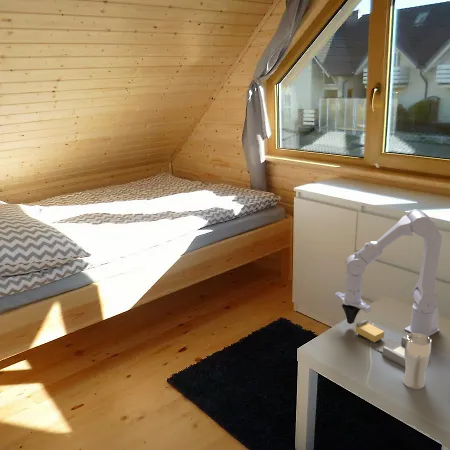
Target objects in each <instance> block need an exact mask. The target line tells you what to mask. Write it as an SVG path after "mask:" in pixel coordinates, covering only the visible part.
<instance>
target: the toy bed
mask: <svg viewBox="0 0 450 450" xmlns="http://www.w3.org/2000/svg"><path fill="white" fill-rule="evenodd" d="M368 322H369V321H368V319H364V320H361V321H359V322H357V323H356V325H355V333H356V334H357V336H358V337H360V336H362V337H364V338H366V339H368V340H369V341H370V343H371V344H374V343H376V342H378V341H380V340H381V339H384V337H385V330H382V329H381V328H378V327H376V326H375V325H372V324H370V323H368Z"/></svg>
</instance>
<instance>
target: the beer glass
mask: <svg viewBox="0 0 450 450" xmlns="http://www.w3.org/2000/svg"><path fill="white" fill-rule="evenodd" d="M406 338H407V340H406V344H405V352H404V355H405V368H404V370H405V371H404V375H403V378H402V383H403V384H404V385H405V386H406V387H407V388H409V389H412V390H422V389H424V387H425V385H426V382H425V381H426V380H425V374H426V371H427V368H428V366H429V363H430V360H431V359H430V358H431V352H432V339H431V338H430V336H429V337H428V336H426V335H424V334H420V333H411V332H410V333H409V334H407V336H406Z"/></svg>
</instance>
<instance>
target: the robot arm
mask: <svg viewBox="0 0 450 450" xmlns="http://www.w3.org/2000/svg"><path fill="white" fill-rule="evenodd" d="M413 233H414V234H416V235H417V236H419V237H421V238H423V240H424V241H423V242H424V243H423V248H422V256H421V264H420V271H419V277H418V278H419V279H418V281H417V282H416V284H415V287H414V289H413V290H412V292H411V295H412V296H411V297H412V299H413V300H414V302H413V304H412V308H411V318H410V322H409V323H410V325H408V326H406V327H405V328H404V330H405V331H407V332H409V333H410V334H411V333H420V334H424V335H426V336H428V337H429V338H430V336H432V335H434V334H436V333H437V332H440V328H438V325H439V318H440V317H439V316H440V312H439V309H438V306H439V303H438V301H437V290H436V279H437V273H438V267H439V266H438V265H439V259H440V252H441V246H442V238H443V236H442V234H441V232H440V230H439V229H438V227H437V225H436V223H435V222H434V221H433V220H432V219H431V218H430V216H428V215H427V214H426V213H425V212H423V211H422V210H421V209H412V210H409V212H408V213H407V214H404V215H403V216H401V218H400V219H399V220H398V222H397V223H395V224H394V225H393V226H392V227H391V228H390V229H389V230H387V231H386V232H385V233H384V234H383V235H382V236H380V237H379V238H378V239H377V240H376V241H373V240H371V241H369V242H365V243H364V244H363V245H364V246H363V247H362V248H361V249H359V250H358V251H357V252H356V251H355V252H354V253H353V254H350V255H349V256H348V257H347V258H346V260H345V266H346V272H345V281H344V282H345V284H344V292H343V293H342V292H340V291H337V292H335V293H334V298H335V300H336V299H337V300H338V299H339V300H341V301H342V304H341V308H342V309H343V311H344V314H345V317H346V322H347V324H349V325H351V324H354V323H355V320H356V318H357V315H358V314H359V312H360V311H363V312H364V313H365V314H368V313H370V312H371V310H372V309H371V306H370V305H368V304H367V303H366V302H365V301H364V300H362V291H363V290H362V288H363V274H364V273H365V270H366V268H367V267H368V266H369V265H370V264H371V263H373V262H374V261H376V260H377V259H378V258H379V257H381V256H382V255H383V251H384V249H385V248H387V247H388V246H389V245H391V244H392V243H394V242H395V241H396V240H397V241H398V239H400V238H401V237H402V236H410V237H412V236H414V234H413Z"/></svg>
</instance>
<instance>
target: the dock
mask: <svg viewBox="0 0 450 450" xmlns="http://www.w3.org/2000/svg"><path fill="white" fill-rule="evenodd" d="M406 340H407V336H405V335H403V336H402V337H401V342H398V341H395V340H393V339H390V338H387V339H386V340H383V341H381V342H379V343H378V344H376V345H373V346H372V347H371V349H374V350H375V351H377V352H378V353H381V354H382V356H383V357H384V358H386V359H388V360H389V361H392V362H394V363H395V364H398V365H399V366H401V367H402V368H404V369H405V355H404V352H405V344H406Z"/></svg>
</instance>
